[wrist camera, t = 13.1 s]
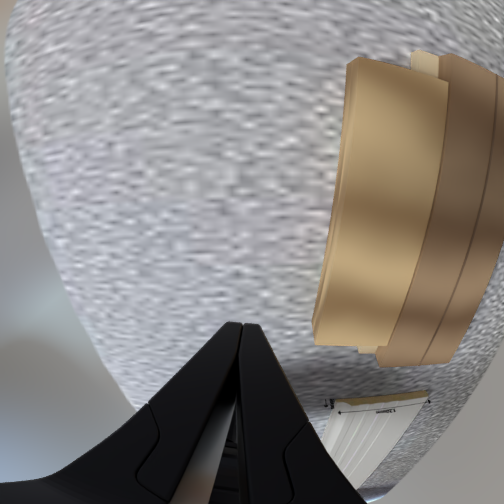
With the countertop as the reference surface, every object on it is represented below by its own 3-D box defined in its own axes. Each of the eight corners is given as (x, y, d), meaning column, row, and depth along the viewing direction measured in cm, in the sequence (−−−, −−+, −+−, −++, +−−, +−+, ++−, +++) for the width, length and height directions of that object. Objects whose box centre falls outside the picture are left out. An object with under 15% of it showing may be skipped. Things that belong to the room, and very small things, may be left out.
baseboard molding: (291, 488, 41) (355, 483, 40) (290, 501, 38) (356, 496, 37) (320, 395, 27) (424, 385, 26) (323, 418, 24) (432, 405, 24)
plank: (377, 322, 22) (386, 345, 20) (311, 320, 22) (314, 345, 20) (426, 84, 14) (448, 82, 12) (346, 64, 14) (358, 56, 12)
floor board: (437, 341, 23) (449, 363, 20) (356, 343, 23) (363, 368, 20) (503, 91, 13) (528, 92, 10) (411, 52, 13) (431, 45, 11)
